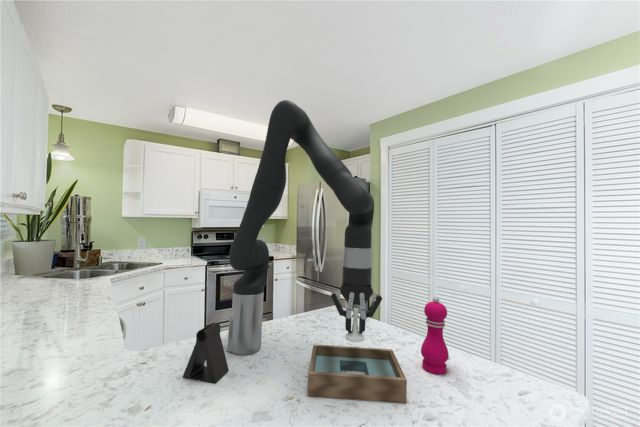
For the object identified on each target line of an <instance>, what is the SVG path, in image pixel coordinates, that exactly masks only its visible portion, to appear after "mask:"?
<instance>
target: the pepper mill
mask: <svg viewBox="0 0 640 427" xmlns="http://www.w3.org/2000/svg"><path fill="white" fill-rule="evenodd" d="M423 312H424V315H425V316H426V318H425V324H426V325H427V331H426V332H427V333H426V336H425V338H424V341H423V342H422V344H421V348H420V353H421V356H422V357H423V359H422V362H421V365H422V369H423V370H425V371H426V372H427V373H430V374H433V375H444V374H446V373H447V363H446V362H447V361H448V360H449V357H450V355H449V349H448V347H447V344H446V342H445V340H444V334H443V333H444V332H443V331H444V327H445V326H446V321H445V319H446V318H447V317H448V309H447V308H446V305H444V304H443V303H441V302H440V298H439V297H438V296H436V295H435V296H433V297H432V301H429V302H427V303H426V304H425V306H424V309H423Z"/></svg>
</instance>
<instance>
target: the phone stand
mask: <svg viewBox="0 0 640 427" xmlns="http://www.w3.org/2000/svg"><path fill="white" fill-rule="evenodd" d="M221 328H222V327H221V324H220V323H219V322H216V323H215V322H212V323H210V324H209V325H206V326H205V327H203V328H202V329H200V330H198V331H197V332H196V333H195V334H196V336H195V338H196V339H195V340H196V341H195V345H194V347H193V350H192V352H191V354H190V357H189V359H188V362H187V364H186V367H185V369H184V372H183V375H182V378H183V379H186V380H190V381H197V382H198V381H199V382H203V383H209V384H217V383H218V381H220V380H221V379H222V378H223V377H224V376H225V375H226V374H227V373H228V372H229V371H230V370H229V366H228V362H227V358H226V357H227V356H226V354H225V350H224V345H223V342H222V337H221ZM205 364H206V365H205Z"/></svg>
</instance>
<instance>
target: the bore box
mask: <svg viewBox="0 0 640 427" xmlns="http://www.w3.org/2000/svg"><path fill="white" fill-rule="evenodd" d="M311 351H312V352H311V357H310V362H309V368H308V373H307V374H308V376H307V395H306V396H307V397H312V398H313V397H314V398H327V399H329V398H330V399H340V400H341V399H342V400H354V401H357V400H358V401H367V402H368V401H369V402H381V403H382V402H384V403H397V404H398V403H399V404H407V390H408V389H407V388H408V387H407V386H408V380H407V377H406V375H405V373H404V371H403V369H402V367H401V365H400V363H399V361H398V358H397V357H396V354H395V352H394V350H393V349H391V348H389V349H388V348H375V347H363V346H362V347H361V346H359V347H356V346H344V345H343V346H342V345H328V344H312V350H311ZM341 371H351V372H352V371H354V372H355V371H356V372H365V374H355V373H354V374H352V373H341Z"/></svg>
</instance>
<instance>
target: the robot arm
mask: <svg viewBox="0 0 640 427" xmlns="http://www.w3.org/2000/svg"><path fill="white" fill-rule="evenodd" d="M291 140H292V141H294V143H296V144H297V145H298V146H299V147H300V148H301V149H302V150H303V151H304V152H305V153H306V155H307V156H308V157H309V159H310V161H311V164H312V166H313V167H314V170H316V172H317V173H318V175H319V176H320V178H322V180H323V181H324V183H325V184H326V185H327V186H328V187H329V188H330V189H331V190H332V192H333V193H334V195H335V197H336V198H337V200H338V201H339V203H340V204H341V206H342V207H343V208H344V209H345V210H346V211H347V212H348V222H347V223H348V224H347V226H346V227H345V231H344V246H343V247H344V248H343V253H342V275H341V276H342V277H341V286H340V288H339V290H336V291H332V292H331V295H330V297H331V299H332V301H333V304H334V305H335V308H336V310H337V313H338V315H339V316H341V317H344V318H345V325H344V326H345V330H346V331H347V333H351V331H352V317H351V316H352V313H353V310H352V306H355V305H357V306H359V307H360V309H359V313H360V315H359V317H360V318H358V319H359V320H358V322H359V323H358V331H359V334H362V335H363V332H365V331H366V320H367V319H368V318H373V316H374V315H375V313H376V311H377V309H378V307H379V305H380V304H381V302H382V300H383V297H382V295H381V294H380V293H376V292H374V290H373V287H372V272H373V271H372V270H373V266H372V264H373V254H372V236H373V235H372V227H373V221H374V220H373V219H374V212H375V200H374V197H373V195H372V194H371V193H370V192H368V191H367V190H366V189H365V188H364V187H363V186H362V185H361V184H360V183H359V181H357V180H356V178H355V177H354V176H353V174H352V172H351V171H350V170H349V168H348V167H347V166H346V165H345V164H344V162H343V161H342V160H341V159H340V157H338V155H337V154H336V153H335V152H334V151H333V150H332V149H331V147H330V146H328V144H327V143H326V142H325V141H324V139H323V138H322V136H321V135H320V134H319V133H318V131H317V130H316V127H315V125H314V124H313V123H312V121H311V119H310V117H309V115H308V114H307V113H306V111H305V110H304V109H303V108H301V107H300V106H298V105H297V104H296V103H294V102H293V101H291V100H288V99H284V100H280V101H279V102H277V103H276V105H275V106H273V109H272V110H271V114H270V117H269V121H268V124H267V132H266V136H265V141H264V146H263V149H262V153H261V158H260V160H259V165H258V168H257V171H256V173H255V177H254V180H253V183H252V186H251V190H250V194H249V197H248V201H247V204H246V207H245V210H244V212H243V215H242V219H241V222H240V224H239V227H238V229H237V231H236V234H235V236H234V238H233V241H232V244H231V246H230V249H229V254H228V255H229V256H228V259H229V264H230V266H231V268H232V269H233V270H235V271H238V272H239V271H240V272H241V271H243V274H242V276H241V277H240V278H239V279H237V280H236V281H235V282H234V283H233V286H232V288H233V289H232V300H231V301H232V302H231V304H232V305H231V306H232V308H231V317H230V318H229V319H228V333H227V349H226V350H227V352H229V353H232V354H235V355H240V356H241V355H242V356H243V355H244V356H246V355H248V356H249V355H252V354H255V353H257V352H259V351H260V350H261V347H262V335H263V334H262V331H263V313H264V312H263V311H264V294H265V292H264V290H265V286H266V285H267V284H266V283H267V280H268V273H269V263H270V252H269V247H268V245H267V243H266V242H265V241H264V240H262V239H258V236H259V233H260V231H261V230H262V228H263V226H264V225H265V224H266V223H267V221H268V220H269V219H270V217H271V216H272V215H274V213H275V212H276V210H277V209H278V208H279V206H280V204H281V201H282V199H283V195H284V192H285V188H286V185H287V166H286V165H287V163H286V157H287V150H288V147H289V144H290V141H291ZM341 296H342V297H343V298H344V300H345V302H346V307H345V308H346V309H344V308H343V306H342V303H341V301H340V300H341ZM370 298H371V301H372V302H371V304H370V306H369V308H368V310H366V303H367V302H368V301H369V299H370Z"/></svg>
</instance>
